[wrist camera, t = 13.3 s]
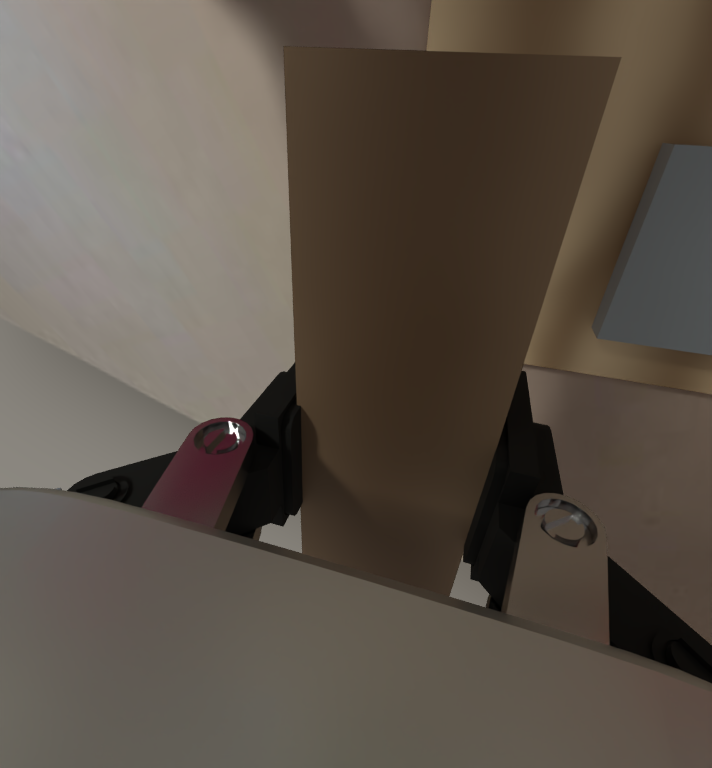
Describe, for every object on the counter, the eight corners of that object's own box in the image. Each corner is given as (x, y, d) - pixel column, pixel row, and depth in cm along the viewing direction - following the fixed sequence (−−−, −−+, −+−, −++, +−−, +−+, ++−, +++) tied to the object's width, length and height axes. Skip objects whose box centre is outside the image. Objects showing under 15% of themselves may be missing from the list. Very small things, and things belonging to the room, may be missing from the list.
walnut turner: (342, 515, 16) (304, 614, 13) (362, 72, 9) (282, 46, 5) (443, 541, 16) (430, 653, 12) (568, 80, 8) (621, 57, 5)
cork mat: (396, 338, 28) (395, 342, 28) (436, -30, 18) (435, -34, 18) (776, 399, 24) (782, 405, 23) (1099, -42, 14) (1121, -48, 13)
